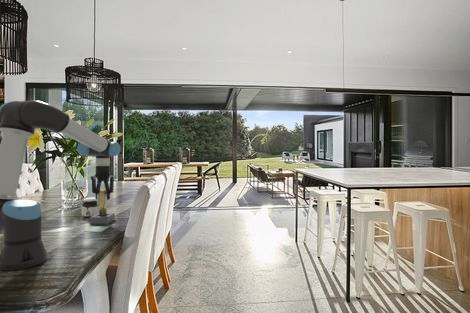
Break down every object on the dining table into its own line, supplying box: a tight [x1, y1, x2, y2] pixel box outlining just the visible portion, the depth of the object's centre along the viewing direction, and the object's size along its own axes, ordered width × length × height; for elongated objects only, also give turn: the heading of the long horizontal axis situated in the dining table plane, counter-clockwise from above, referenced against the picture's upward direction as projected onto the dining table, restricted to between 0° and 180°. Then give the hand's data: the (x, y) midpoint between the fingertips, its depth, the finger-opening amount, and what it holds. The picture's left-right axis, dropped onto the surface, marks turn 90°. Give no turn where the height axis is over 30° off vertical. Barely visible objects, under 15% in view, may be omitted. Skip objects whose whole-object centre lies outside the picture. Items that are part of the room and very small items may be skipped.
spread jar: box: [81, 196, 99, 219], centre depth 179 cm, size 12×11×12 cm
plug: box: [99, 188, 108, 214], centre depth 165 cm, size 4×4×14 cm
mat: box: [83, 225, 109, 233], centre depth 151 cm, size 9×9×1 cm
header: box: [89, 212, 116, 225], centre depth 165 cm, size 10×10×4 cm
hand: (102, 204), depth 165 cm, fingers closed on plug, 4 cm apart
